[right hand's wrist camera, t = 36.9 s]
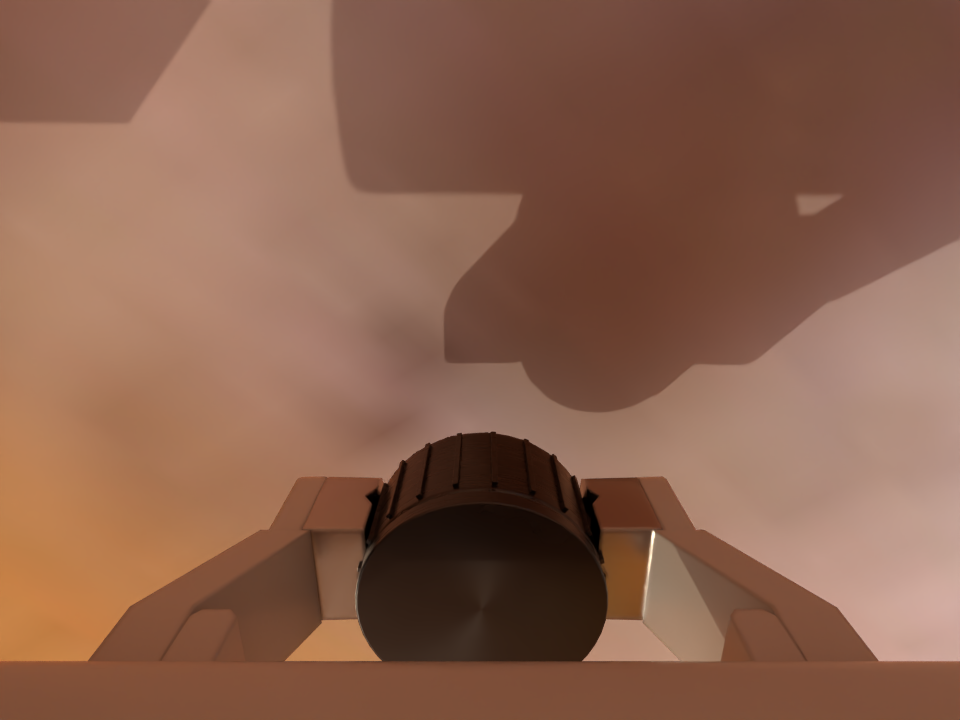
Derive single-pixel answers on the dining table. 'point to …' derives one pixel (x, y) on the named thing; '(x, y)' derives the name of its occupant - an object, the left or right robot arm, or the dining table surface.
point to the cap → (481, 558)
